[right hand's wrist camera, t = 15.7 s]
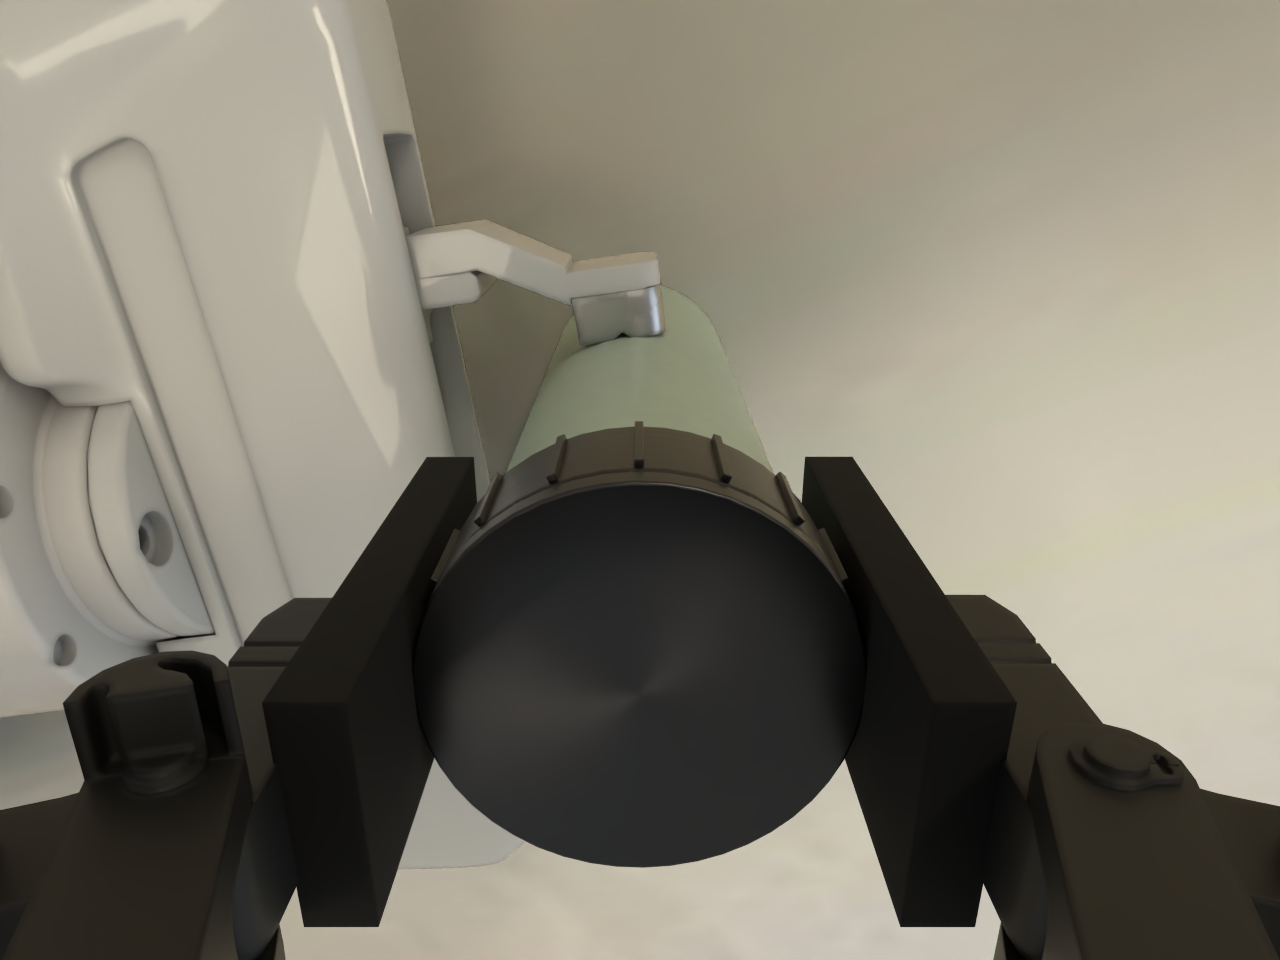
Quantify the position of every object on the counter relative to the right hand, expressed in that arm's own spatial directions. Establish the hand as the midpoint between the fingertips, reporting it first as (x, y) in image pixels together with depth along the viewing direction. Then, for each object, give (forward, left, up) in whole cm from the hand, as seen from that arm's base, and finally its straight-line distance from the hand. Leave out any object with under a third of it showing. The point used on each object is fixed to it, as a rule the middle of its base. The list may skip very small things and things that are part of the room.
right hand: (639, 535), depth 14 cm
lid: (0, 0, +4) cm, 4 cm away
